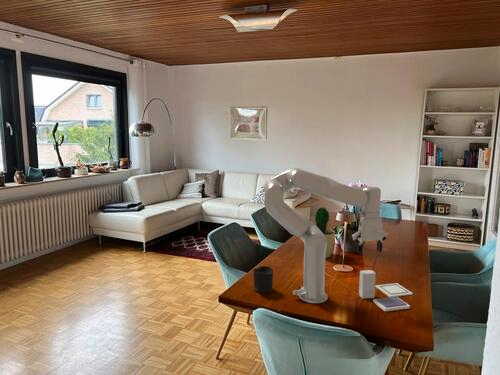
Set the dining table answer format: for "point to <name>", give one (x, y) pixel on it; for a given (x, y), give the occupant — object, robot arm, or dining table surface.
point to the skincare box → (367, 284)
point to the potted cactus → (321, 223)
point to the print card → (393, 290)
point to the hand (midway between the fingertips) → (369, 251)
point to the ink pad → (391, 303)
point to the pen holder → (263, 279)
